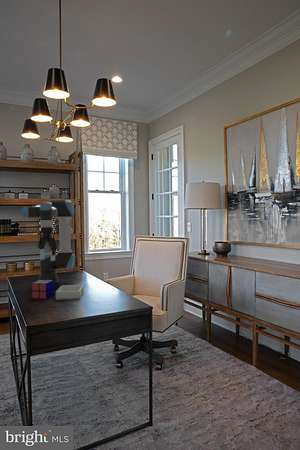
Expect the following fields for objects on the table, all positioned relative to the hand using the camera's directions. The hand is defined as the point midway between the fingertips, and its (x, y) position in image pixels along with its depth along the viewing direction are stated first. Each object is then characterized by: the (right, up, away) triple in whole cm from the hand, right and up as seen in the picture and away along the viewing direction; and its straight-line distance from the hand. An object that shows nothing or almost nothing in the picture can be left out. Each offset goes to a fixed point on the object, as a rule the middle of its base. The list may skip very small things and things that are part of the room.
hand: (47, 259), depth 215 cm
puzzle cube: (-4, -25, +3) cm, 25 cm away
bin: (+14, -24, +4) cm, 28 cm away
